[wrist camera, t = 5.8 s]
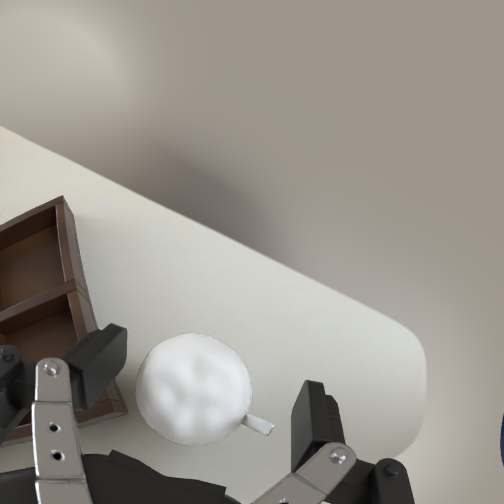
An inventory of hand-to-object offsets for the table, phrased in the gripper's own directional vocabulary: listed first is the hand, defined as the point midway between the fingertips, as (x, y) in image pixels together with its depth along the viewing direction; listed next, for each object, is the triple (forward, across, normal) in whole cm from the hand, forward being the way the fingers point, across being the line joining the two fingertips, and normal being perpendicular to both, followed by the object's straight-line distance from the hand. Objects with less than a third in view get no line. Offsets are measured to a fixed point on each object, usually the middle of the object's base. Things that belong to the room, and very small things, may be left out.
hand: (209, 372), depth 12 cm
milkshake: (+4, 0, +6) cm, 7 cm away
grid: (+3, +17, +7) cm, 19 cm away
